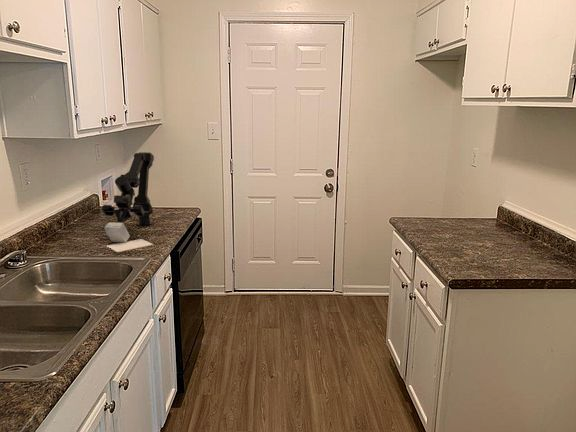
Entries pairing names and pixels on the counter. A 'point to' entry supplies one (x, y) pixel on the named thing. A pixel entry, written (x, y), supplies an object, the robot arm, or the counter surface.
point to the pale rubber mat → (129, 245)
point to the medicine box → (117, 232)
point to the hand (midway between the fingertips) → (119, 225)
